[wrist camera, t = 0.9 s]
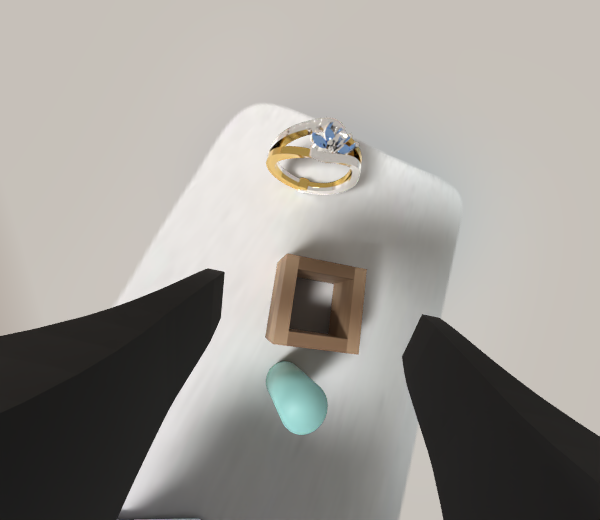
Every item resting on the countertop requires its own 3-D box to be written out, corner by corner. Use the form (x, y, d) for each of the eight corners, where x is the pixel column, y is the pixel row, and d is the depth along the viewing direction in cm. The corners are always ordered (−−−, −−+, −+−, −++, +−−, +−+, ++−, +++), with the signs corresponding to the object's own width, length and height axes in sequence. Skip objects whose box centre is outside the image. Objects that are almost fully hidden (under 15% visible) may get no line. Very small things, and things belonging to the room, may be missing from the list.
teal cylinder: (298, 401, 21) (324, 436, 15) (263, 398, 21) (275, 433, 15) (304, 363, 22) (330, 383, 16) (269, 359, 21) (283, 378, 15)
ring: (340, 184, 25) (388, 131, 18) (333, 216, 24) (380, 175, 17) (267, 158, 24) (285, 89, 16) (258, 191, 23) (272, 134, 16)
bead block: (336, 346, 23) (358, 354, 19) (265, 337, 21) (272, 343, 17) (344, 275, 24) (366, 269, 20) (277, 262, 23) (287, 253, 19)
